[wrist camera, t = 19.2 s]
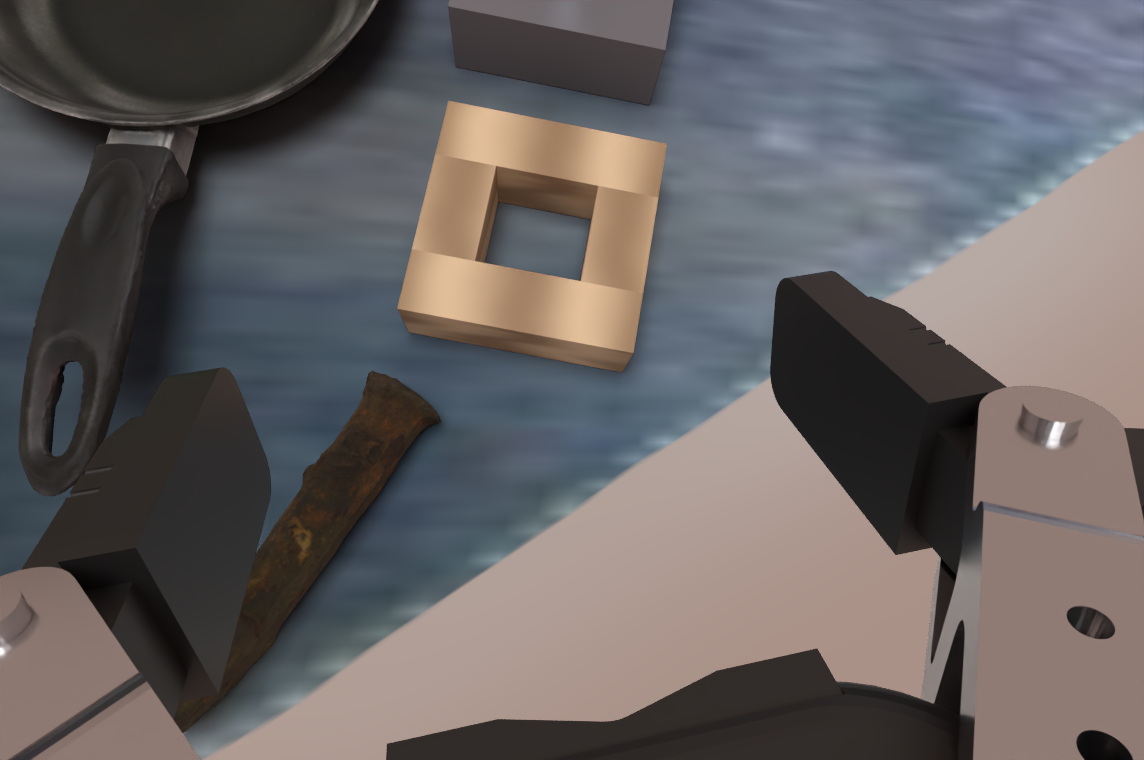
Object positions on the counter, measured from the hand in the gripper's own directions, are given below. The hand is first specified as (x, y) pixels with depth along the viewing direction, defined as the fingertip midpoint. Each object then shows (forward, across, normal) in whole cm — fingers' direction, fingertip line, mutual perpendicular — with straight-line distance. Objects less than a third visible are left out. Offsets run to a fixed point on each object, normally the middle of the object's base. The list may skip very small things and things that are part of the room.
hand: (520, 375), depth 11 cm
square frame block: (+30, -3, +10) cm, 31 cm away
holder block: (+41, -8, -1) cm, 42 cm away
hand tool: (+20, +11, +21) cm, 30 cm away
